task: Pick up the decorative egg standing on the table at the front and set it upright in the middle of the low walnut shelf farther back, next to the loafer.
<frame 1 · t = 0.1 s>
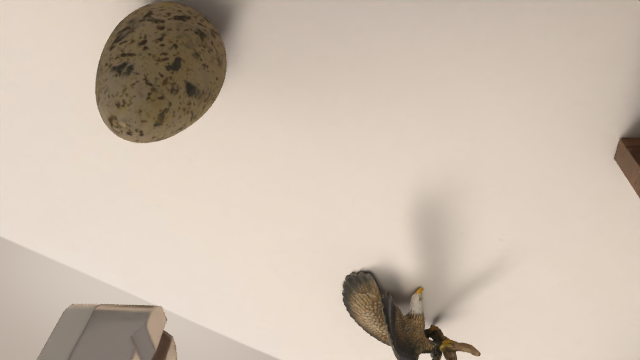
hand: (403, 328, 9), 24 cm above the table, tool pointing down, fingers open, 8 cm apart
decorative egg: (186, 35, 32), on the table
eagle figurine: (399, 298, 44), on the table
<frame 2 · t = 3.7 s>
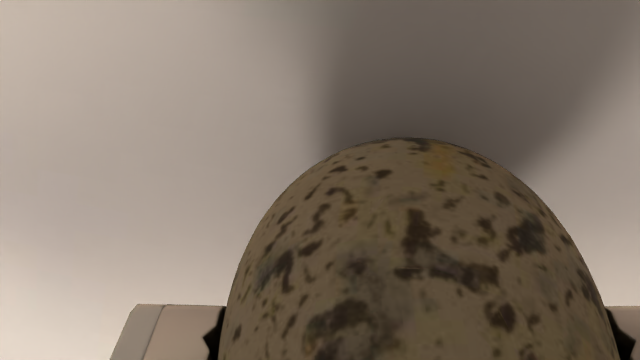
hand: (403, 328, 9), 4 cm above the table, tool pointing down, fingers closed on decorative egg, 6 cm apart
decorative egg: (395, 189, 12), on the table, touching gripper
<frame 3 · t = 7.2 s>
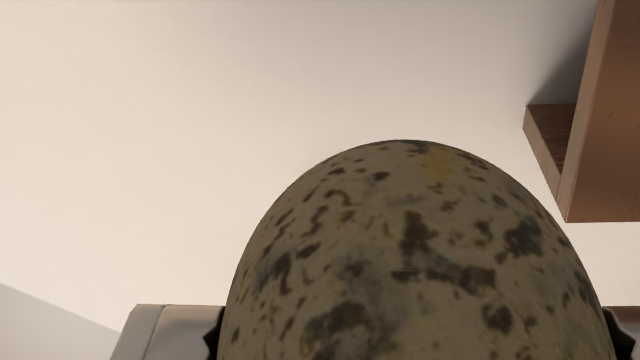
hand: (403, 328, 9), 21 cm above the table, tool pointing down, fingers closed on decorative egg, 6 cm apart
decorative egg: (394, 191, 12), point 17 cm above the table, touching gripper
when the fingers open (12 cm above the table, at t = 10.9 s): decorative egg stays where it is, resting on shelf.
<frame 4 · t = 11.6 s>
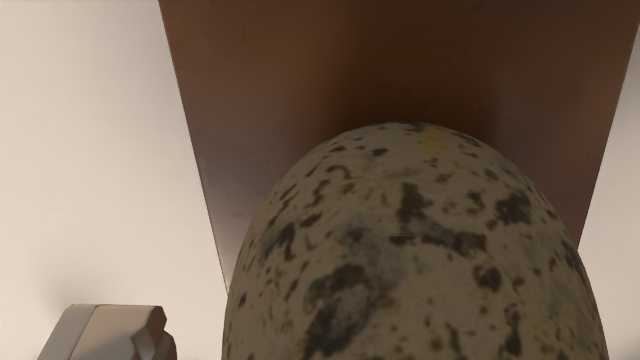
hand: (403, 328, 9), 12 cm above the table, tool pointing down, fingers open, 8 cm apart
decorative egg: (393, 174, 13), point 8 cm above the table, touching shelf
shelf: (383, 42, 19), on the table
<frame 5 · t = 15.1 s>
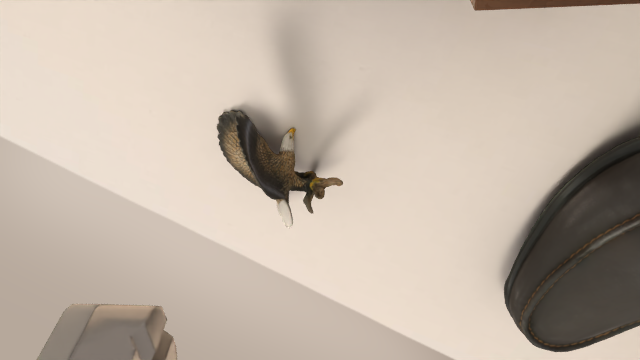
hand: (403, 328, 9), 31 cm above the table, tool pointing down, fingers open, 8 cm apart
eagle figurine: (275, 143, 45), on the table
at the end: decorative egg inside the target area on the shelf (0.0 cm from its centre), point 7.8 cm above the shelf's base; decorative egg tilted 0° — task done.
